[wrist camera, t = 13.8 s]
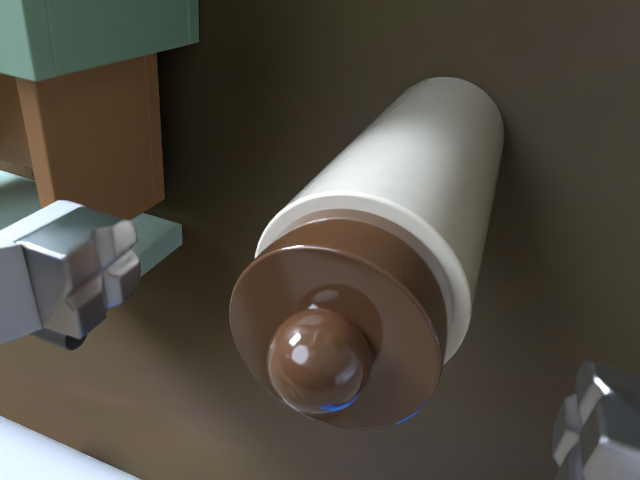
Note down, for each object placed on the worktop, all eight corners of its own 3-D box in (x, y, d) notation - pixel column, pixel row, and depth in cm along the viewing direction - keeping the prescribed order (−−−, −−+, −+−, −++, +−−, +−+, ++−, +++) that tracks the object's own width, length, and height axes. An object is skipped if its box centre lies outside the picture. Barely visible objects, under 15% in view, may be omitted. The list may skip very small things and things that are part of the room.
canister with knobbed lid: (394, 66, 19) (166, 233, 7) (521, 89, 18) (487, 330, 6) (375, 178, 22) (177, 440, 10) (486, 205, 20) (413, 540, 9)
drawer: (185, 311, 28) (98, 397, 23) (10, 250, 31) (-104, 313, 26) (171, -63, 19) (20, -73, 14) (-73, -96, 22) (-278, -115, 17)
